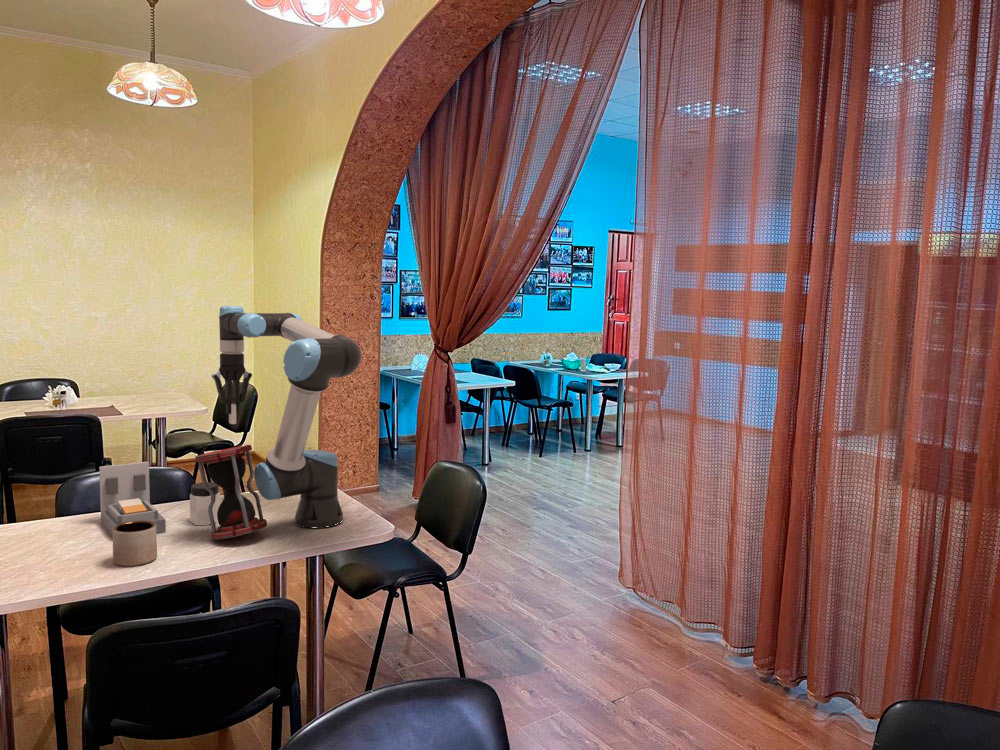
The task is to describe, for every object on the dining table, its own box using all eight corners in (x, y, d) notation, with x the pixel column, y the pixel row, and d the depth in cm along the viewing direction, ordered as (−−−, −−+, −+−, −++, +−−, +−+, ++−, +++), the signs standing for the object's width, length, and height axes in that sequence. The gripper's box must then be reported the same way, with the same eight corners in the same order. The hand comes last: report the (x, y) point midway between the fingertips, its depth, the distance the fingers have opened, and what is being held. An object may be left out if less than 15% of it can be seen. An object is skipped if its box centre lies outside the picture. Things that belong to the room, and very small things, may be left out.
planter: (107, 559, 207) (106, 525, 206) (148, 550, 215) (147, 517, 214) (121, 570, 200) (120, 535, 199) (163, 561, 207) (162, 527, 206)
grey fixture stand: (165, 532, 231) (164, 474, 229) (115, 540, 222) (113, 480, 220) (148, 515, 247) (147, 461, 245) (101, 523, 238) (99, 466, 236)
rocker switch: (147, 515, 232) (147, 510, 232) (124, 518, 228) (124, 513, 228) (139, 503, 240) (139, 498, 239) (117, 506, 236) (117, 501, 235)
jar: (186, 521, 242) (185, 484, 241) (211, 516, 248) (210, 480, 247) (199, 528, 236) (198, 490, 235) (224, 522, 242) (223, 485, 241)
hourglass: (222, 541, 216) (204, 455, 216) (204, 538, 229) (187, 457, 228) (275, 525, 226) (259, 443, 226) (255, 523, 239) (239, 445, 238)
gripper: (247, 351, 258) (248, 420, 260) (208, 352, 250) (209, 423, 252) (255, 353, 252) (256, 423, 254) (215, 354, 244) (216, 426, 246)
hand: (232, 423), depth 253 cm, fingers closed
